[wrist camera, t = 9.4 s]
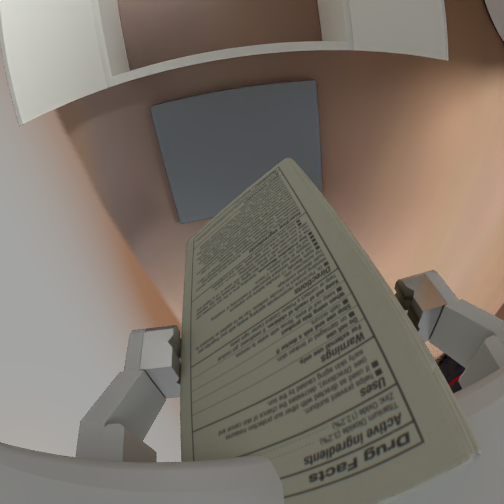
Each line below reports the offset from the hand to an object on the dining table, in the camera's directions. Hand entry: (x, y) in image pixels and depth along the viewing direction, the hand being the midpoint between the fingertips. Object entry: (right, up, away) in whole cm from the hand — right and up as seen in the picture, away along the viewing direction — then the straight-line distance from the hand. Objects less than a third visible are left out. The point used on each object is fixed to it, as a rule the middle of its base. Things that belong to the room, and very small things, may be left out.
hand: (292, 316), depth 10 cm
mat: (-2, +10, +13) cm, 17 cm away
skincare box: (-1, +3, +5) cm, 6 cm away
